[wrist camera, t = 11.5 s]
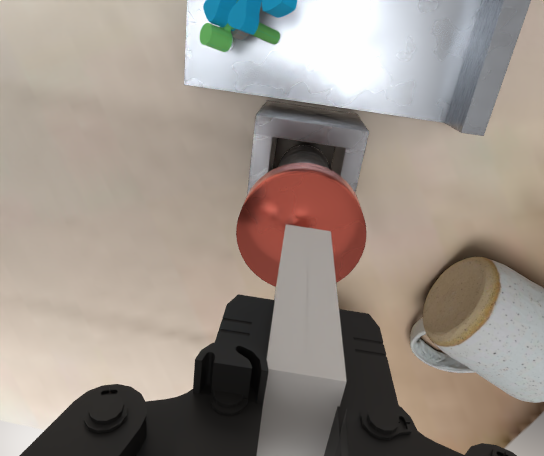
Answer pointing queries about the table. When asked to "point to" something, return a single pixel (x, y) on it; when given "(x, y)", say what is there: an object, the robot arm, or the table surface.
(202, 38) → the blue lobed star wheel
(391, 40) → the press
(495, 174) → the table surface
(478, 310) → the ceramic mug
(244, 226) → the plunger
